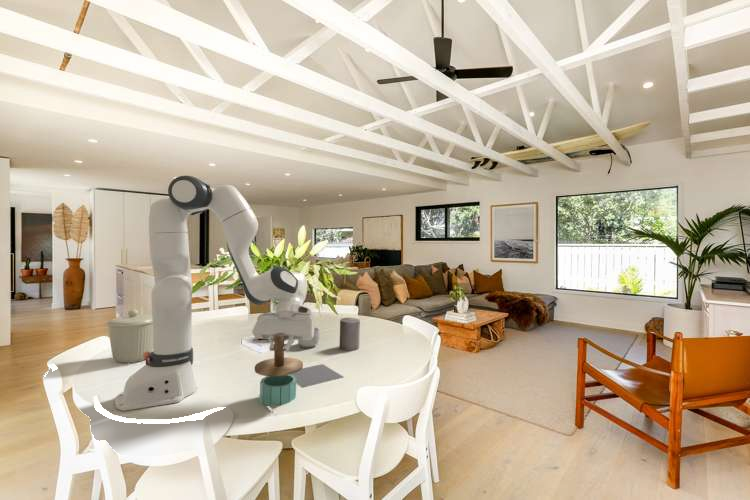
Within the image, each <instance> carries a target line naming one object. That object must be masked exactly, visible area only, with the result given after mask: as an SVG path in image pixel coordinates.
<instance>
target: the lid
mask: <svg viewBox="0 0 750 500" xmlns="http://www.w3.org/2000/svg"><path fill="white" fill-rule="evenodd" d="M273 344H274V351H273V352H274V353H273V354H274V355H273V357H274V358H269V359H265V360H262V361H259V362H258V363H256V364H255V365H254V373H256V374H258V375H259V376H264V377H266V376H284V375H289V374H293V373H296V372H298V371H299V370H301V369H302V368H304V367H303V366H304V365H303V361H302V360H300V359H298V358H294V357H285V351H283V345H284V344H285V339H284V333H276V334H274V342H273Z"/></svg>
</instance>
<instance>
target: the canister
mask: <svg viewBox="0 0 750 500" xmlns="http://www.w3.org/2000/svg"><path fill="white" fill-rule="evenodd" d="M127 313H128V315H122V316H116V317H115V318H112V319H110V320H109V321H107V322H106V326H108V335H109V343H110V349H111V354H112V355H111V356H112V358H113V360H114V361H115V362H116V363H119V364H132V362H133V363H138V361H139V362H142V361H144V360H145V361H146V359H145V358H144V357H143V355H144V353H145V352H147V351H148V352H149V353H151V352H153V319H152V314H147V313H146V314H143V313H142V314H141V313H140V314H139V310H137V309H130V310H129V311H128V312H127Z"/></svg>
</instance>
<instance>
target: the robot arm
mask: <svg viewBox="0 0 750 500" xmlns="http://www.w3.org/2000/svg"><path fill="white" fill-rule="evenodd" d="M167 188H168V189H167V194H168V198H161V199H159V200H155V201H154V202H152V203H151V205H150V207H149V208H150V209H149V215H148V236H149V249H150V250H149V251H150V253H149V254H150V260H151V266H152V272H153V277H154V280H153V281H154V286H153V287H152V290H151V295H150V298H151V315H152V319H153V351H152V352H151V353H149V352H148V351H147V352H145V353H144V355H143V357H144V358H145V365H144V366H142V367H141V368H140V369H138V370H137V371H136V372H134V373H133V374H132V375H131V376H129V377H128V378H127V380H126V382H125V385H124V388H123V391H121V392H120V393H119V394H117V396H116V397H115V400H114V406H115V408H116V409H117V410H119V411H124V412H125V411H130V410H138V409H143V408H150V407H156V406H163V405H169V404H174V403H175V404H177V403H179V402H180V401H182V400H183V399H185V398H186V397H188V396H190V395H192V394H193V393H195V391H196V390H197V387H198V386H197V385H196V381H195V377H194V371H193V364H194V363H193V362H194V348H193V345H192V344H193V343H192V335H193V334H192V332H193V331H192V330H193V329H192V328H193V326H192V325H193V324H192V322H193V321H192V317H193V316H192V313H193V312H192V306H193V305H192V293H193V281H192V280H193V278H192V269H191V268H192V267H191V259H190V258H191V257H190V244H189V231H188V219H189V216H194V215H198V214H200V213H204V212H206V211H208V210H210V211H211V212H212V213H214V215H215V216H216V218H217V219H218V221H219V223H220V224H221V226H222V228H223V230H224V233H225V237H226V247H227V251H228V254H229V256H230V258H231V260H232V263H233V265H234V267H235V270H236V271H237V275H238V276H239V278H240V282H241V284H242V286H243V287H242V288H243V291H244V294H245V297H246V299H248V301H249V302H251V303H252V304H255V305H259V306H261V305H265V304H266V303H268V302H269V301H271V300H273V299H275V298H277V299H278V302H277V306H276V310H275V312H263V313H261V314H260V315H258V316H257V318H256V322H255V324H254V326H253V328H252V334H253V336H254V338H255V339H258V340H259V339H262V340H263V339H264V340H268V341H269V344H270V345H269V346H268V349H269V351H271V352H274V334H276V333H284V340H288V341H286V343H284V345H283V351H284V352H289V350H290V347H291V346H292V345H293V344H294V343H295V341H298V340H311V339H312V338H313V337H314V329H315V328H316V327H315V323H314V322H315V316H314V312H313V311H312V309H311V308H309V307H307V306H304V302H305V300H306V298H307V294H308V293H307V292H308V280H307V277H306V276H305V275H304V274H303V273H302V272H298V271H290V270H288V269H287V268H286V267H284V266H281V265H279V266H278V265H277V266H274V267H272V268H270V269H268V270H266V271H264V272H263V273H260V274H259V273H258V272H257V270H256V268H255V266H254V264H253V261H252V259H251V258H252V257H251V256H250V250H249V249H250V246H251V244H252V241H253V240H254V238H255V237H256V235H257V232H258V230H259V221H258V219H257V215H256V214H255V212H254V211H253V209H252V208H251V206H250V204H249V203H248V201H247V200H246V198H245V197H244V196H243V195H242V193H241V192H240V191H239V190H238V189H237V188H236V187H235V186H234V185H232V184H221V185H219V186H217V187H212V186H211V185H210V184H208V183H207V182H205V181H204V180H203V179H201V178H197V177H194V176H192V175H180V176H177V177H175V178H174V179H173V180H171V182H170V183H169V185H168V187H167Z"/></svg>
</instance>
